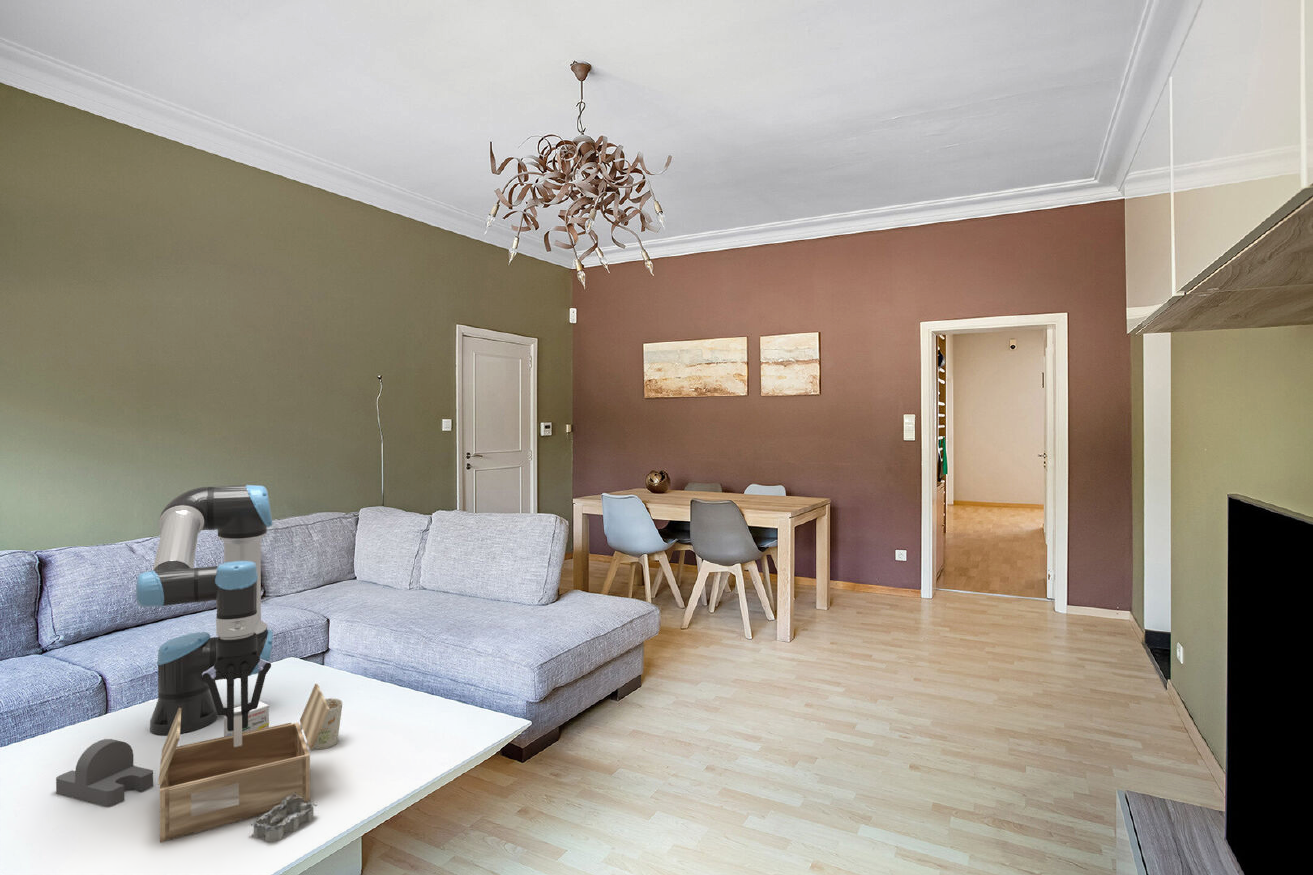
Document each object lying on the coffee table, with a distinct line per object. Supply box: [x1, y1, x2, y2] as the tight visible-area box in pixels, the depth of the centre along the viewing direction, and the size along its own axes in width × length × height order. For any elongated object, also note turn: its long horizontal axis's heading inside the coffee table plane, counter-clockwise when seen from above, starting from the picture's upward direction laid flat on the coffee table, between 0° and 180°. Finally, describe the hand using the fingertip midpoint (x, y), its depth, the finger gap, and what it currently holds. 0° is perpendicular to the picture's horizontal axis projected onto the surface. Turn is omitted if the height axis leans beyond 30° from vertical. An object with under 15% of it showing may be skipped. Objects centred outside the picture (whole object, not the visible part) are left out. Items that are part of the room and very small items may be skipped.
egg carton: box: [249, 792, 318, 843], centre depth 138 cm, size 11×8×4 cm
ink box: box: [223, 700, 270, 737], centre depth 168 cm, size 8×5×12 cm, turn 147°
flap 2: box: [299, 683, 329, 751], centre depth 156 cm, size 18×9×1 cm
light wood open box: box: [159, 721, 311, 843], centre depth 148 cm, size 22×26×10 cm
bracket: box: [55, 738, 154, 808], centre depth 152 cm, size 10×18×11 cm, turn 71°
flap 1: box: [157, 708, 182, 786], centre depth 141 cm, size 18×9×1 cm
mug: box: [299, 698, 343, 750], centre depth 172 cm, size 8×13×10 cm, turn 161°
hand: (237, 743), depth 148 cm, fingers closed
